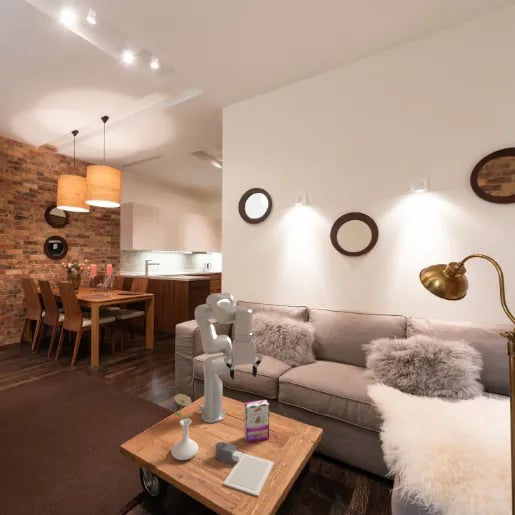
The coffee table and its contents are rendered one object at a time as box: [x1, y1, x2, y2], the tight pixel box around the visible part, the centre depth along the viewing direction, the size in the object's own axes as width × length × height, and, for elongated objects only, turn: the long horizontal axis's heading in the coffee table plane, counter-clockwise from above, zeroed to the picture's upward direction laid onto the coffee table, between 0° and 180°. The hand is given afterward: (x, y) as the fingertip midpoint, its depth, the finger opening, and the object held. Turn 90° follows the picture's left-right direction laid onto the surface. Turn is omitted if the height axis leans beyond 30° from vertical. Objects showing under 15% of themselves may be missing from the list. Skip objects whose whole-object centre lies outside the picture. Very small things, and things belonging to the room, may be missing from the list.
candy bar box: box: [243, 399, 270, 443], centre depth 136 cm, size 11×5×16 cm, turn 105°
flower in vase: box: [171, 393, 200, 461], centre depth 124 cm, size 13×11×25 cm
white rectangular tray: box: [222, 452, 275, 497], centre depth 113 cm, size 14×18×1 cm
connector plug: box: [215, 441, 243, 465], centre depth 121 cm, size 11×4×5 cm, turn 69°
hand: (243, 377), depth 125 cm, fingers open, 9 cm apart
